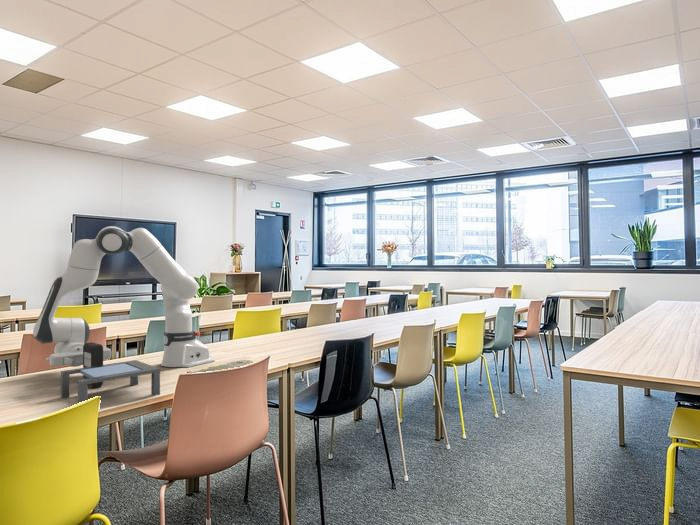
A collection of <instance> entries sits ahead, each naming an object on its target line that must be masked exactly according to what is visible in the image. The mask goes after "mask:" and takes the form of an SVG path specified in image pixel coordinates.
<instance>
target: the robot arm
mask: <svg viewBox="0 0 700 525" xmlns="http://www.w3.org/2000/svg"><path fill="white" fill-rule="evenodd" d="M125 252H131V253H132V254H133V255H134V256H135V258H137V260H138V261H139V263H140V264H142V266H143V267H144V269H146V271H147V272H148V273H149V274H150V275H151V276H152V277H153V278H154V279H155V280H156V281H157V282H159V283H160V291H161V293H162V294H161V295H162V303H163V309H164V314H165V315H164V330H165V331H164V333H163V344H164V348H163V356H162V359H161V362H160V363H161V364H160V366H162V367H165V368H166V367H168V368H190V367H194V366H200V365H204V364H208V363H213V362H215V357H213V356H211V355H210V350H209V348H208V346H207V345H206V344H204V343H202V342H201V341H200V340H199V339H197V338H196V337H200V336H201V333H200V331H195V330H193V312H192V309H191V305H190V300H191V299H193V297H195V296H196V295H197V293H198V291H199V290H198V289H199V286H198V282H197V281H196V280H195V278H193V277H192V276H191V275H190V274H189V273H188V272H187V271H186V270H185V268H183V267H182V266H181V265H180V264H179V263H178V262H177V261H176V260H175V259H174V258H173V257H172V256H171V255H170V253H169V252H168V251H167V250H166V249H165V247H164V246H163V245H162V243H161V242H160V241H159V239H157V238H156V236H154V235H153V234H152V233H151V232H150V231H149V230H148V229H147V228H144V227H138V228H134V229H132V230H131V231H125V230H123V228H121V227H119V226H116V225H108V226H106V227H103V228H102V229H101V230H100V231H99V232H98V234H96V236H94V238H93V239H91V238H90V239H89V238H83V239H82V238H81V239H78V240H77V241H76V242H75V243H74V244H73V247H72V249H71V251H70V254H69V258H68V262H67V267H66V270H65V271H64V272H63V274H62V275H61V276H59V277H57V278H56V279H55V280H54V282H53V283H52V285H51V287H50V290H49V292H48V295H47V297H46V299H45V302H44V305H43V306H42V310H41V312H40V314H39V316H38V319H37V320H36V323H35V325H34V326H33V329H32V330H33V332H32V334H33V338H34V339H35V341H37V342H38V343H40V344H52V343H56V344H55V346H54V348H53V349H54V350H53V353H52V354H50V355H49V357H46V358H45V361H46V362H49V366H51V367H54V368H55V367H60V366H70V367H72V368H74V367H78V368H79V367H80V366H83V345H84V344H85V343H88V341H89V338H90V325H89V324H88V322H87V321H86V320H85V319H84V318H83V317H55V314H56V312H57V310H58V308H59V305H60V302H61V300H62V299H63V298H64V297H65V296H67V295H68V294H71V293H75V292H77V291H82V290H84V289H87V288H90V287H91V286H93V285H94V284H95V283H96V282H97V280H98V277H99V273H100V268H101V263H102V259H103V257H105V255H111V256H113V255H114V256H115V255H118V254H122V253H125ZM102 346H103V361H104V360H110V359H111V358H112V349H111V348H109V347H107V346H104V345H102Z"/></svg>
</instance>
